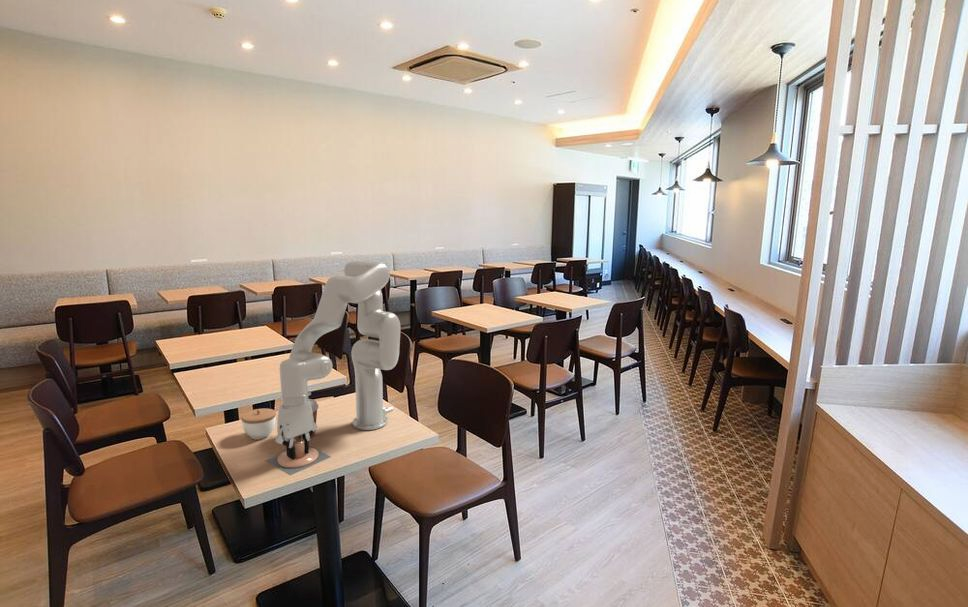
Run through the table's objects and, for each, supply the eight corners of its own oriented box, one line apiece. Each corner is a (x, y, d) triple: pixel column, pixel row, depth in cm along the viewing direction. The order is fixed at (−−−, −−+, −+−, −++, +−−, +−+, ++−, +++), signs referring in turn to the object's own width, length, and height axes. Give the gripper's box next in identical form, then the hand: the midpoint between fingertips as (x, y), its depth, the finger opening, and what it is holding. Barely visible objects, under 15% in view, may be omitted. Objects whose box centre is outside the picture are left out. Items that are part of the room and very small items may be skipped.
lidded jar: (238, 435, 169) (236, 409, 168) (269, 426, 177) (268, 401, 175) (249, 445, 162) (247, 418, 160) (282, 435, 169) (280, 410, 167)
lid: (304, 445, 160) (303, 429, 159) (326, 456, 153) (325, 439, 152) (269, 459, 151) (268, 442, 150) (292, 472, 144) (290, 454, 143)
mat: (305, 445, 162) (305, 444, 162) (331, 458, 154) (331, 456, 154) (265, 462, 151) (264, 460, 151) (290, 476, 143) (290, 474, 143)
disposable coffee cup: (324, 436, 169) (323, 404, 166) (297, 445, 162) (295, 411, 160) (312, 428, 175) (310, 396, 173) (285, 436, 169) (283, 403, 167)
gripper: (311, 389, 158) (314, 442, 161) (262, 404, 144) (266, 462, 148) (325, 394, 153) (328, 448, 156) (276, 410, 140) (279, 469, 143)
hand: (298, 454), depth 152 cm, fingers closed on lid, 4 cm apart
